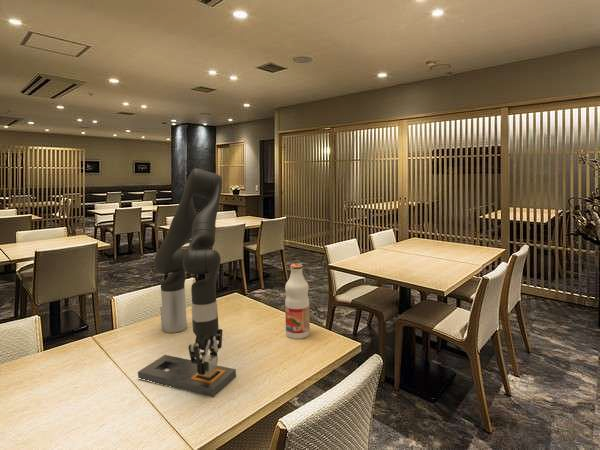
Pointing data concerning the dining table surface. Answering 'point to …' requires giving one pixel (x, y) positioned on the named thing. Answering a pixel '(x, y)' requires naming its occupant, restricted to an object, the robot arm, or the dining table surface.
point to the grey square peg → (210, 368)
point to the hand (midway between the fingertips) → (207, 368)
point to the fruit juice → (297, 304)
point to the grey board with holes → (186, 375)
